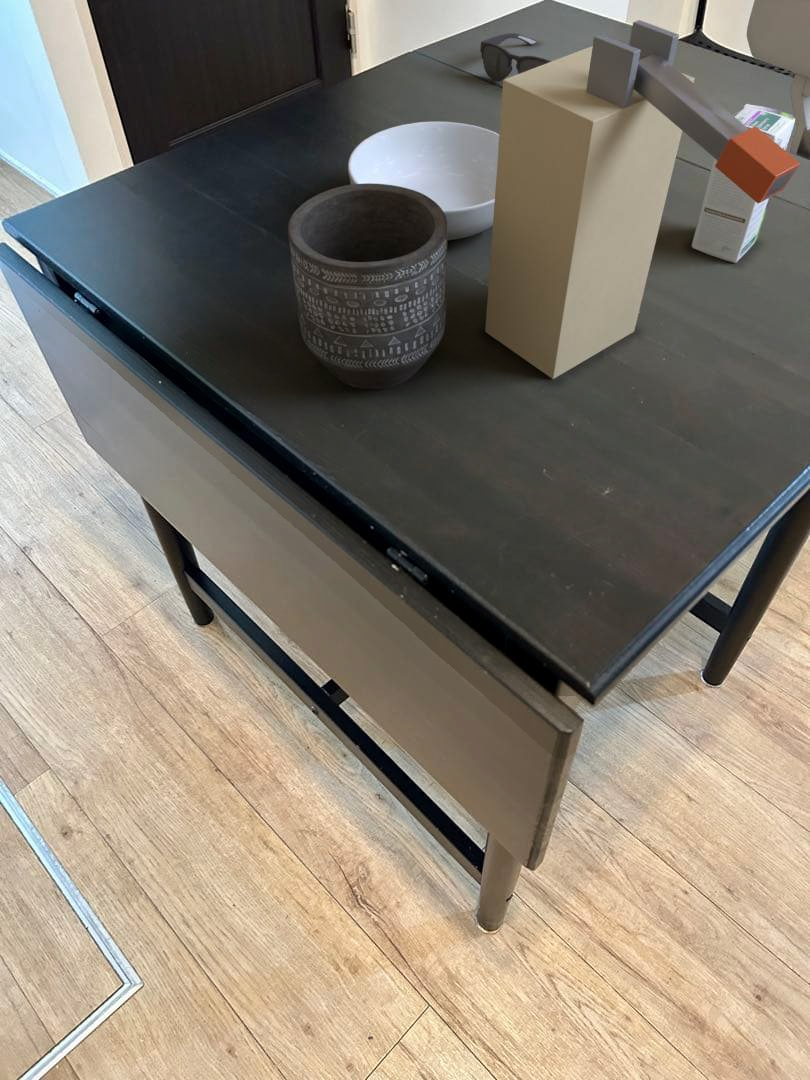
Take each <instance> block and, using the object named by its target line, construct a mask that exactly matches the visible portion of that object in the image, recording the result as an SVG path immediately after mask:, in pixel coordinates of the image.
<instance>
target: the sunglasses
mask: <svg viewBox="0 0 810 1080" xmlns="http://www.w3.org/2000/svg"><path fill="white" fill-rule="evenodd" d="M509 39H518V40H520V41H523V42H524V43H526V44H528V45H529V46H533V45H536V44H537V42H538V41H537V40H536V39H534V38H531V37H528V36H525V35H523V34H520V33H515V32H514V33H513V32H510V33H509V32H508V33H503V34H499V35H495V36H492V37H489V38H487V39H484V40H482V41H481V42H480V49H479V51H480V54H481V59H482V64H483V69H484V71H485V73H486V75H487V76H488V77H489V78H490V80H492V81H494V82H498V83H499V82H503V80H504V79H507V78H508V77H509V75H510V74H511V73H512V71H513V61H516V63H515V67H516V70H517V74H520V73H523V72H525V71H528V70H531V69H533V68H536V67H538V66H541V65H544V64H546V63H549V62H552V61H553V60H550V59H547V58H544V57H540V56H535V55H522V56H521V55H517V54H513V53H511V52H510V51H509V50H507V49H506V48H504V47H502V46H501V44H502V43H503V42H505V41H506V40H509Z"/></svg>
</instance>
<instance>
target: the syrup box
mask: <svg viewBox="0 0 810 1080" xmlns="http://www.w3.org/2000/svg"><path fill="white" fill-rule="evenodd" d="M732 115H733V116H734V117H735V118H736V119H737V120H739V121H740V122H741V123H742V124H743V125H745V126H746V127H747V128H748V129H751V128H753V127H755V126H756V127H757V128H758V129H760V130H761V131H762V132H763V133H764V134H766V135H767V136H768V137H769V138H770V139H772V140H773V141H774V142H775V143H777V144H778V145H779V146H780V147H781V148H783V149H784V150H785V151H786V152H787V147H788V145H789V141H790V138H791V135H792V133H793V130H794V126H795V124H796V123H795V117H794V115H793V114H790V113H787V112H784V111H781V110H778V109H775V108H771V107H767V106H761V105H756V104H755V105H754V104H749V103H746V104H745V105H743V107H742V108H741V109H739V110H738V111H737V112H735V113H734V114H732ZM716 163H717V160H716V159H715V158H714V157H713V162H712V166H711V168H710V172H709V177H708V181H707V185H706V188H705V192H704V196H703V200H702V204H701V208H700V211H699V216H698V219H697V224H696V227H695V230H694V234H693V238H692V243H691V248H692V249H695V250H696V251H699V252H702V253H705V254H707V255H709V256H713V257H716V258H719V259H721V260H724V261H727V262H731V263H734V264H736V263H738V261H739V260H740V259H741V258H742V257H744V255H745V254H746V253H748V251H749V250H750V249H751V248H752V247H753V245H755V243H756V242H757V241H758V238H759V234H760V231H761V227H762V225H763V222H764V219H765V216H766V213H767V210H768V207H769V203H770V200H771V198H772V197H770V198H768V199H766V200H764V201H763V202H761V203H759V204H758V203H757V202H756V201H754V200H753V199H752V198H751V197H750V196H749V195H747V194H746V193H745V192H744V191H743V190H742V189H740V188H739V187H738V186H737V185H736V184H735V183H733V182H732V181H731V180H730V179H729V178H728V177H726V176H725V175H724V174H723V173H722V172H721V171H719V170H718V169H717V168H716V167H715V165H716Z"/></svg>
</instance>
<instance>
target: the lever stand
mask: <svg viewBox="0 0 810 1080" xmlns="http://www.w3.org/2000/svg"><path fill="white" fill-rule="evenodd" d="M679 38H680V34H679V33H675V32H673V31H671V30H667V29H665V28H662V27H659V26H658V25H654V24H651V23H648V22H646V21H643V20H641V19H638V20H636V21H633V22H632V26H631V32H630V38H629V43H628V44H627V43H624V42H622V41H619V40H616V39H614V38H611V37H609V36H606V35H604V34H598V35H595V36H594V37H593V41H592V45H591V46H589V47H586V48H583V49H581V50H577V51H576V52H573V53H570V54H567V55H565V56H562V57H560V58H557V59H555V60H551V61H552V62H549V63H546V64H544V65H541V66H538V67H536V68H533V69H531V70H528V71H525V72H523V73H520V74H518V73H517V74H515V75H512V76H510V77H506V78H505V79H503V80H502V92H501V107H500V120H499V133H498V134H499V147H498V161H497V175H496V189H495V203H494V217H493V226H492V233H491V244H490V245H491V247H490V259H489V263H490V264H489V273H488V274H489V275H488V276H489V277H488V287H487V301H486V302H487V303H486V316H485V317H486V318H485V330H484V332H485V333H486V334H488V335H489V336H491V337H492V338H493V339H495V340H496V341H498V342H499V343H501V344H502V345H503V346H504V347H506V348H507V349H509V350H510V351H512V352H513V353H515V354H516V355H517V356H519V357H521V358H522V359H523V360H525V361H526V362H528V363H529V364H530V365H532V366H534V367H535V368H536V369H537V370H539V371H540V372H542V373H543V374H545V375H546V376H547V377H549V378H550V379H552V380H554V379H556V378H558V377H559V376H561V375H563V374H564V373H567V372H568V371H570V370H571V369H573V368H575V367H576V366H578V365H580V364H582V363H584V362H585V361H587V360H589V359H590V358H592V357H594V356H595V355H598V354H599V353H601V352H602V351H604V350H605V349H607V348H609V347H610V346H612V345H614V344H615V343H617V342H619V341H621V340H622V339H624V338H625V337H627V336H629V335H631V334H633V333H634V332H635V331H636V330H635V329H636V326H637V321H638V317H639V313H640V309H641V305H642V300H643V297H644V292H645V288H646V284H647V279H648V275H649V272H650V267H651V263H652V258H653V255H654V251H655V246H656V243H657V238H658V233H659V230H660V226H661V222H662V217H663V213H664V208H665V204H666V201H667V196H668V192H669V188H670V184H671V179H672V176H673V171H674V168H675V163H676V158H677V154H678V150H679V146H680V142H681V138H682V134H683V131H682V130H681V129H680V128H679V127H677V126H676V125H675V124H674V123H673V122H672V121H670V120H669V119H668V118H667V117H666V116H665V115H663V114H662V113H661V112H660V111H659V110H658V109H656V108H655V107H654V106H653V105H652V104H651V103H649V102H648V101H647V100H646V99H645V98H644V97H642V96H641V95H640V94H639V93H638V92H637V91H635V90H634V83H635V78H636V73H637V67H638V62H639V60H640V59H643V58H645V57H648V56H650V55H653V54H655V53H658V54H659V55H660V56H661V57H663V58H664V59H665V60H666V61H667V62H669V63H670V64H671V65H672V66H673V65H674V61H675V57H676V52H677V47H678V43H679ZM673 67H674V66H673ZM681 73H682V74H683V75H684V76H686V77H687V78H688V79H689V80H690V81H692V82H693V83H694V84H695V77H693V76H691V75H689V74H686V73H683V72H681Z"/></svg>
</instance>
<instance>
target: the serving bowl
mask: <svg viewBox="0 0 810 1080" xmlns="http://www.w3.org/2000/svg"><path fill="white" fill-rule="evenodd" d="M498 147H499V133H498V132H495V131H493V130H490V129H487V128H484V127H481V126H477V125H474V124H473V125H472V124H467V123H463V122H454V121H420V122H411V123H406V124H400V125H396V126H393V127H389V128H387V129H383V130H381V131H378V132H376V133H374V134H372V135H370V136H369V137H366V138H365V139H364V140H362V141H361V142H360V143H359V144H358V145H357V146H356V147H355V148H354V149H353V151H351V154H350V156H349V158H348V162H347V172H348V177H349V181H350V185H352V184H366V183H372V184H386V185H394V186H399V187H403V188H407V189H411V190H414V191H417V192H420V193H422V194H424V195H426V196H427V197H429V198H430V199H432V200H433V201H434V202H436V203H437V204H438V205H439V206H440V208H441V209H442V210H443V212H444V214H445V216H446V220H447V241H453V240H460V239H465V238H469V237H473V236H475V235H478V234H481V233H482V232H485V231H486V230H489V229H490V228H493V217H494V203H495V189H496V175H497V161H498Z"/></svg>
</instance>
